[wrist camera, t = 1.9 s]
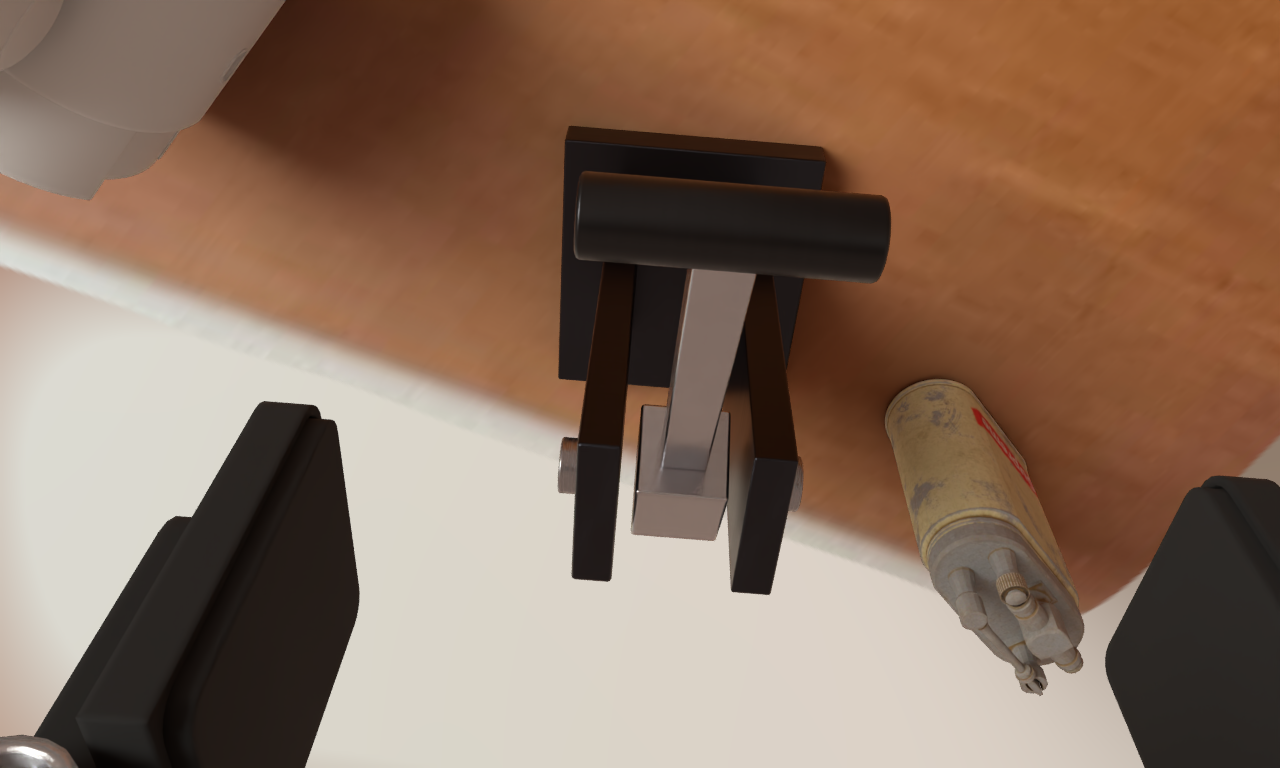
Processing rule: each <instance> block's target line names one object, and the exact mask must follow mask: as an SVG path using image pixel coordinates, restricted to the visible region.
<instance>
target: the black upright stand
mask: <svg viewBox="0 0 1280 768" xmlns="http://www.w3.org/2000/svg"><path fill="white" fill-rule="evenodd" d="M825 166H826V160H825V156H824V153H823V149H822V147H818V146H806V145H794V144H781V143H769V142H757V141H745V140H733V139H721V138H709V137H697V136H685V135H673V134H661V133H649V132H637V131H625V130H613V129H601V128H588V127H576V126H569V128H568V131H567V135H566V139H565V158H564V194H563V229H562V265H561V301H560V336H559V372H558V377H559V379H566V380H578V381H586V386H585V393H584V400H583V407H582V414H581V421H580V429H579V436H578V438H569V437H564V438H563V439H562V443H561V450H560V459H559V471H558V491H559V493H567V494H575V506H574V529H573V530H574V531H573V552H572V553H573V554H572V577H573V578H574V579H581V580H593V581H606V582H608V581H610V580H611V576H612V565H613V553H614V542H615V541H614V540H615V530H616V518H617V506H618V494H619V482H620V471H621V459H622V447H623V435H624V423H625V411H626V400H627V388H628V385H641V386H653V387H665V388H669V387H670V380H671V373H672V367H673V360H674V353H675V347H676V340H677V334H678V327H679V320H680V314H681V307H682V300H683V294H684V287H685V281H686V274H687V268H675V267H663V266H651V265H639V264H627V263H614V262H602V261H590V260H579V259H578V258H576V257H575V253H574V223H575V208H576V197H577V189H578V182H579V177H580V175H581V173H582V172H584V171H592V172H604V173H617V174H629V175H641V176H653V177H665V178H677V179H689V180H701V181H714V182H726V183H738V184H750V185H762V186H774V187H786V188H798V189H811V190H821V187H822V182H823V177H824V171H825ZM803 281H804V278H798V277H786V276H773V275H761V274H757V275H756V279H755V283H754V287H753V290H752V294H751V298H750V302H749V306H748V310H747V314H746V318H745V322H744V325H743V329H742V333H741V337H740V341H739V345H738V349H737V353H736V357H735V361H734V364H733V368H732V372H731V376H730V380H729V384H728V388H727V392H726V396H725V400H724V403H723V411H729V412H730V414H731V427H730V468H729V500H728V503H727V514H728V536H729V558H730V579H731V591H732V592H738V593H751V594H764V595H769V594H770V593H771V588H772V584H773V580H774V575H775V570H776V566H777V561H778V556H779V552H780V547H781V542H782V538H783V533H784V528H785V524H786V519H787V514H788V511H794V512H795V511H797V510H798V508H799V506H800V502H801V497H802V490H803V463H802V459H801V457H800V456H798V454H797V447H796V439H795V432H794V425H793V417H792V410H791V403H790V395H789V388H788V381H787V373H786V370H787V365H788V359H789V354H790V349H791V344H792V339H793V333H794V328H795V323H796V318H797V312H798V307H799V302H800V297H801V292H802V286H803Z"/></svg>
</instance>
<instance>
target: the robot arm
mask: <svg viewBox="0 0 1280 768" xmlns="http://www.w3.org/2000/svg"><path fill="white" fill-rule="evenodd" d="M358 606H359V584H358V576H357V569H356V562H355V555H354V547H353V539H352V532H351V524H350V517H349V510H348V503H347V495H346V488H345V481H344V473H343V466H342V458H341V451H340V444H339V437H338V431H337V425H336V423H335V421H333V420H327V419H321V415H320V411H319V410H318V408H317V407H316V406H314V405H306V404H305V405H304V404H293V403H280V402H279V403H278V402H267V401H264V402H261V403H260V404H259V405H258V406H257V407H256V409H255V410H254V412H253V413H252V415H251V417H250V419H249V420H248V422H247V424H246V426H245V427H244V429H243V431H242V432H241V434H240V436H239V438H238V439H237V441H236V443H235V444H234V446H233V448H232V449H231V451H230V453H229V455H228V456H227V458H226V460H225V462H224V463H223V465H222V467H221V469H220V470H219V472H218V474H217V475H216V477H215V479H214V480H213V482H212V484H211V486H210V487H209V489H208V491H207V492H206V494H205V496H204V498H203V499H202V501H201V503H200V505H199V506H198V508H197V510H196V511H195V513H194V515H193V516H192V517H181V516H175V517H174V518H172V519H170V520H169V521H167V522H166V524H165V525H164V526H163V527H162V529H161V530H160V531H159V532H158V534H157V536H156V537H155V539H154V540H153V542H152V544H151V545H150V547H149V549H148V550H147V552H146V554H145V555H144V557H143V558H142V560H141V562H140V564H139V565H138V567H137V568H136V570H135V572H134V573H133V575H132V577H131V578H130V580H129V581H128V583H127V585H126V586H125V588H124V590H123V591H122V593H121V594H120V596H119V598H118V599H117V601H116V603H115V604H114V606H113V608H112V609H111V611H110V612H109V614H108V616H107V617H106V619H105V621H104V622H103V624H102V626H101V627H100V629H99V631H98V632H97V634H96V635H95V637H94V639H93V640H92V642H91V644H90V645H89V647H88V649H87V650H86V652H85V654H84V655H83V657H82V658H81V660H80V662H79V663H78V665H77V667H76V668H75V670H74V672H73V673H72V675H71V676H70V678H69V680H68V681H67V683H66V685H65V686H64V688H63V690H62V691H61V693H60V694H59V696H58V698H57V699H56V701H55V703H54V704H53V706H52V707H51V709H50V711H49V712H48V714H47V716H46V717H45V719H44V721H43V722H42V724H41V726H40V727H39V729H38V731H37V732H36V734H35V735H34V737H33V736H27V735H16V736H7V737H0V768H305V766H306V763H307V760H308V757H309V754H310V751H311V748H312V745H313V743H314V740H315V736H316V734H317V731H318V728H319V725H320V722H321V720H322V717H323V713H324V711H325V708H326V705H327V702H328V699H329V697H330V694H331V691H332V688H333V685H334V682H335V679H336V676H337V674H338V671H339V668H340V665H341V662H342V659H343V656H344V653H345V651H346V648H347V645H348V642H349V639H350V636H351V633H352V630H353V627H354V625H355V621H356V618H357V613H358ZM1105 667H1106V673H1107V677H1108V680H1109V683H1110V685H1111V688H1112V690H1113V693H1114V695H1115V697H1116V700H1117V702H1118V704H1119V707H1120V709H1121V712H1122V714H1123V717H1124V719H1125V722H1126V724H1127V726H1128V729H1129V731H1130V734H1131V736H1132V738H1133V741H1134V743H1135V746H1136V748H1137V750H1138V753H1139V755H1140V757H1141V760H1142V762H1143V765H1144V767H1145V768H1280V487H1279V486H1278V485H1277V484H1276V483H1275V482H1273V481H1270V480H1267V479H1256V478H1243V477H1230V476H1212V477H1210V478H1209V479H1208V480H1206V481H1205V482H1204V484H1203V485H1202V486H1201V487H1197V488H1193V489H1191V490H1190V491H1189V492H1188V493H1187V495H1186V496H1185V498H1184V500H1183V502H1182V504H1181V506H1180V508H1179V510H1178V511H1177V513H1176V515H1175V517H1174V519H1173V521H1172V523H1171V525H1170V527H1169V529H1168V531H1167V533H1166V535H1165V537H1164V539H1163V541H1162V542H1161V544H1160V546H1159V548H1158V550H1157V552H1156V554H1155V556H1154V558H1153V560H1152V562H1151V564H1150V566H1149V568H1148V570H1147V571H1146V573H1145V575H1144V577H1143V579H1142V581H1141V583H1140V585H1139V587H1138V589H1137V591H1136V593H1135V595H1134V597H1133V599H1132V600H1131V603H1130V604H1129V606H1128V608H1127V610H1126V612H1125V614H1124V616H1123V618H1122V620H1121V622H1120V624H1119V626H1118V628H1117V630H1116V631H1115V634H1114V635H1113V637H1112V639H1111V641H1110V643H1109V645H1108V648H1107V651H1106V657H1105Z"/></svg>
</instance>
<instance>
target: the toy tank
mask: <svg viewBox="0 0 1280 768" xmlns="http://www.w3.org/2000/svg"><path fill="white" fill-rule="evenodd" d="M285 1H286V0H0V173H2V174H4V175H6V176H8V177H10V178H13V179H15V180H17V181H20V182H22V183H25V184H27V185H30V186H33V187H36V188H39V189H42V190H45V191H48V192H51V193H55V194H59V195H63V196H67V197H72V198H77V199H84V200H91V199H92V198H93V196H94V195H95V193H96V192H97V191H98V189H99V188H100V186H101V185H102V183H103V182H104V180H105V179H120V178H126V177H130V176H134V175H137V174H139V173H141V172H143V171H145V170H147V169H148V168H150V167H151V166H152V165H153V164H154V163H155V162H156V161H157V159H158V160H159V159H160V158H161V157H162V156H163V154H164V153H165V152H166V150H167V149H168V147H169V146H170V145H171V143H172V142H173V140H174V139H175V137H176V136H177V135H178V133H179V132H180V130H182V129H185V128H188V127H190V126H192V125H194V124H196V123H198V122H199V121H200V120H201V119H202V117H203V116H204V114H205V113H206V112H207V110H208V109H209V107H210V106H211V105H212V103H213V102H214V100H215V99H216V98H217V96H218V95H219V93H220V92H221V91H222V89H223V88H224V86H225V85H226V84H227V82H228V81H229V79H230V78H231V77H232V75H233V74H234V72H235V71H236V69H237V68H238V67H239V65H240V64H241V62H242V61H243V60H244V58H245V57H246V55H247V54H248V53H249V51H250V50H251V48H252V47H253V46H254V44H255V43H256V41H257V40H258V39H259V37H260V36H261V34H262V33H263V32H264V30H265V29H266V27H267V26H268V25H269V23H270V22H271V20H272V19H273V18H274V16H275V15H276V13H277V12H278V11H279V9H280V8H281V6H282V5H283V4H284V2H285Z"/></svg>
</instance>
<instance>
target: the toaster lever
mask: <svg viewBox="0 0 1280 768" xmlns="http://www.w3.org/2000/svg"><path fill="white" fill-rule="evenodd" d="M890 236H891V212H890V206H889V202H888V200H887V198H886V197H884V196H882V195H871V194H859V193H847V192H835V191H823V190H811V189H798V188H786V187H774V186H762V185H750V184H738V183H726V182H714V181H701V180H689V179H677V178H665V177H653V176H641V175H629V174H617V173H604V172H592V171H584V172H582V173H581V175H580V177H579V182H578V189H577V197H576V208H575V223H574V253H575V257H576V258H578V259H579V260H590V261H602V262H614V263H627V264H639V265H651V266H663V267H675V268H687V274H686V281H685V287H684V294H683V300H682V307H681V314H680V320H679V327H678V334H677V340H676V347H675V353H674V360H673V367H672V373H671V380H670V387H669V393H668V400H667V406H659V405H646V404H645V405H643V406H642V407H641V417H640V426H639V436H638V445H637V456H636V469H635V483H634V497H633V510H632V523H631V533H632V534H634V535H644V536H657V537H670V538H684V539H696V540H708V541H714V540H715V539H716V536H717V534H718V530H719V527H720V524H721V521H722V518H723V515H724V512H725V509H726V506H727V503H728V500H729V468H730V427H731V414H730V412H729V411H722V407H723V403H724V400H725V396H726V392H727V388H728V384H729V380H730V376H731V372H732V368H733V364H734V361H735V357H736V353H737V349H738V345H739V341H740V337H741V333H742V329H743V325H744V322H745V318H746V314H747V310H748V306H749V302H750V298H751V294H752V290H753V287H754V283H755V279H756V275H757V274H761V275H773V276H786V277H798V278H810V279H822V280H835V281H847V282H859V283H874V282H876V281H878V279H879V278H880V276H881V274H882V272H883V269H884V267H885V264H886V260H887V256H888V251H889V244H890Z"/></svg>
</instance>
